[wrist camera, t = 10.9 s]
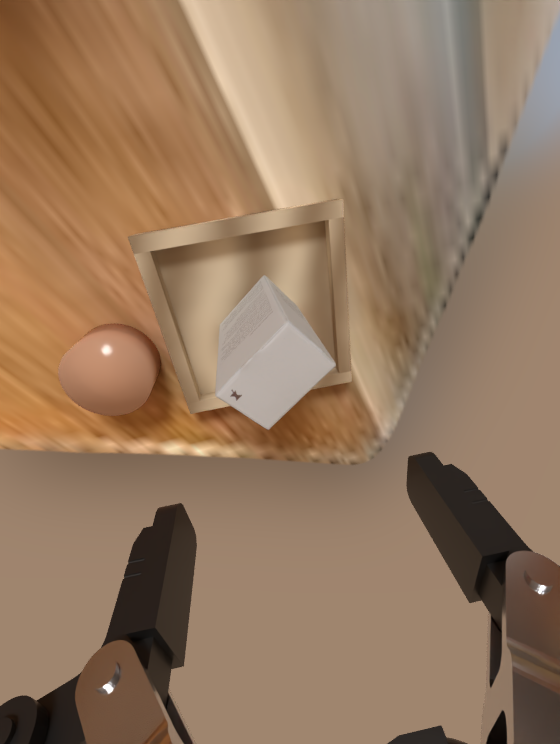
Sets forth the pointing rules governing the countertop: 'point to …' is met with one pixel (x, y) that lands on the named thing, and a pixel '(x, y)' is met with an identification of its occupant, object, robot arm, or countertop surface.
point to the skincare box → (268, 355)
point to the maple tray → (245, 284)
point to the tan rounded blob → (110, 370)
